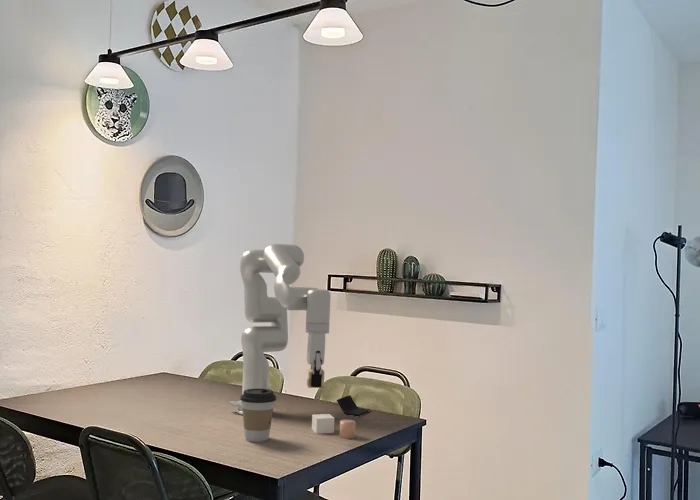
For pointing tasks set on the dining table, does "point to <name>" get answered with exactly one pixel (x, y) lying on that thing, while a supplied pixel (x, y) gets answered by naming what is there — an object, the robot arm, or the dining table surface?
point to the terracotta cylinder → (347, 429)
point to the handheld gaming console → (350, 406)
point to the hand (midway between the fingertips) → (315, 384)
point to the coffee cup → (257, 413)
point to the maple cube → (309, 372)
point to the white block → (323, 423)
